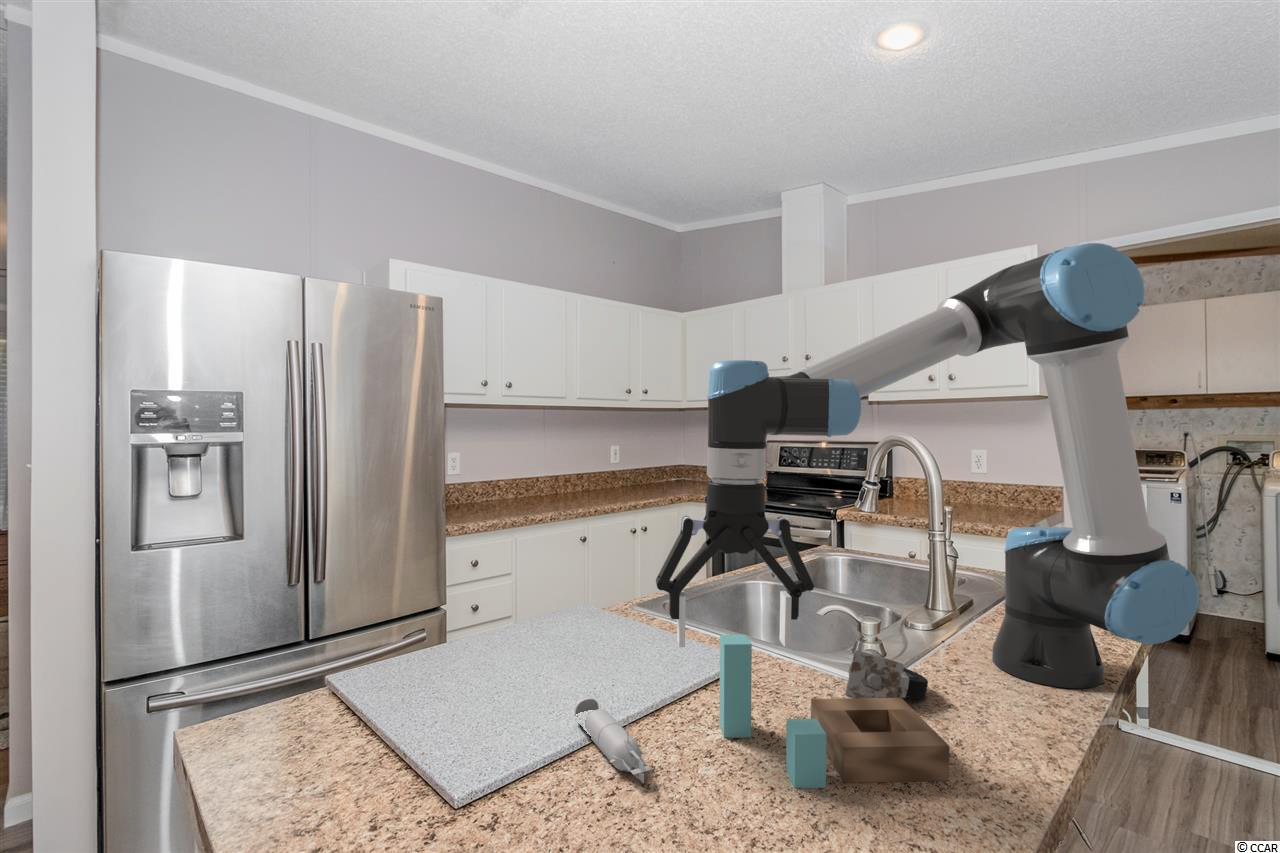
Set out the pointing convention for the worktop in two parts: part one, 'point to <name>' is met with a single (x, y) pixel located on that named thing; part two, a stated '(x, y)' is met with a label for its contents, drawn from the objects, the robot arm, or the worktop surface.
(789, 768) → the short pin
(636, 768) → the torpedo
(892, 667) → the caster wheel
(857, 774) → the hole block
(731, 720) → the long pin
